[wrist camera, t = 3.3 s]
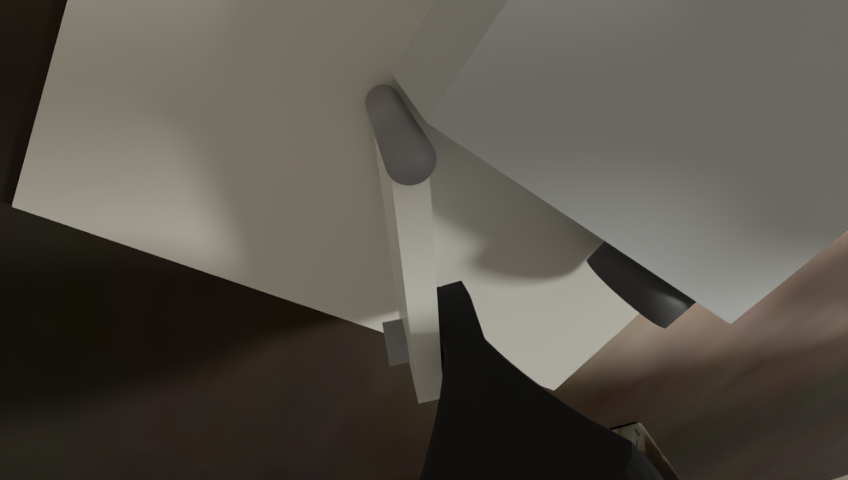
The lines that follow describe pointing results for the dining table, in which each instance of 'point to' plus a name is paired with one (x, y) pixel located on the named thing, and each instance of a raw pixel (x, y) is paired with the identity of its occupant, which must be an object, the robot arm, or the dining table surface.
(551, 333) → the mat
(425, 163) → the side door
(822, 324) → the dining table surface
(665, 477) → the coffee box
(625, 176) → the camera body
